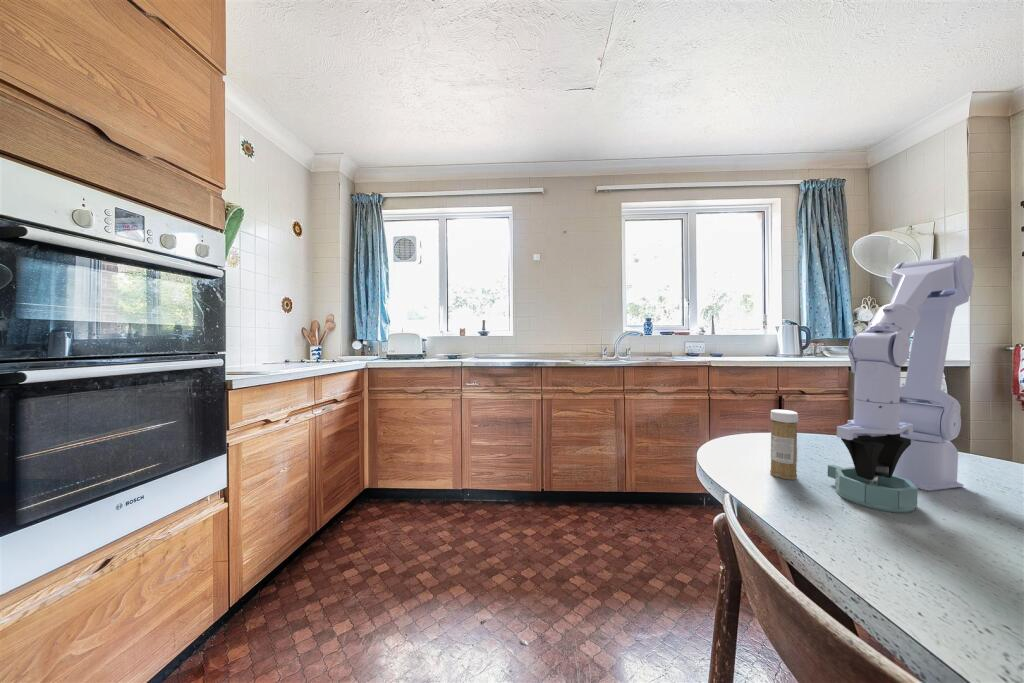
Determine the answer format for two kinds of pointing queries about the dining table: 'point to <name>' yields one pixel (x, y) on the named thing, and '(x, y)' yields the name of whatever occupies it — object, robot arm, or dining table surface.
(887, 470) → the doorknob
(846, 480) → the teal tabbed tray
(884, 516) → the dining table surface
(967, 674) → the dining table surface
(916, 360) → the robot arm
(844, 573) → the dining table surface
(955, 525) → the dining table surface
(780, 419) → the sprinkles bottle
